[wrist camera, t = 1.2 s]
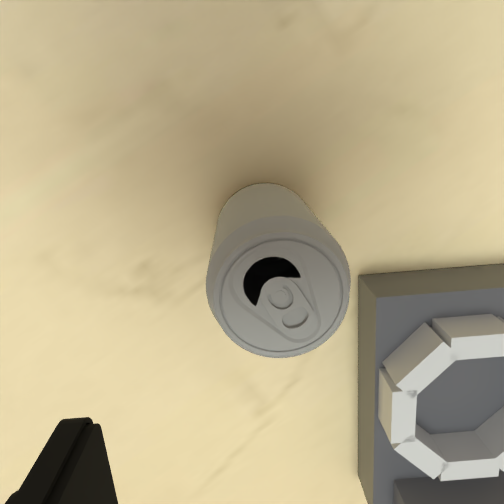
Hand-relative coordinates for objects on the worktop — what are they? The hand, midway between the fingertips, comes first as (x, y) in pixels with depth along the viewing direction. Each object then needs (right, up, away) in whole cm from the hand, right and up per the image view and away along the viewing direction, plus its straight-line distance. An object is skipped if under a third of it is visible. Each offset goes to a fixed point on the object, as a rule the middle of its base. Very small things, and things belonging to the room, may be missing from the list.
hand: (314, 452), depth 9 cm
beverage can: (-1, +6, +19) cm, 20 cm away
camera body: (+12, -5, +23) cm, 27 cm away
